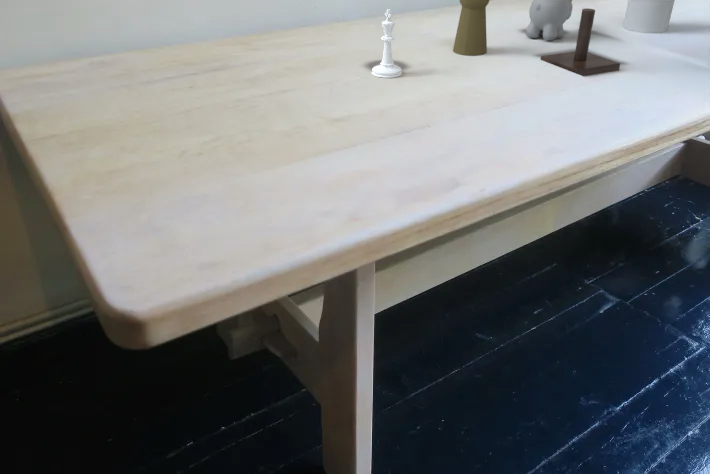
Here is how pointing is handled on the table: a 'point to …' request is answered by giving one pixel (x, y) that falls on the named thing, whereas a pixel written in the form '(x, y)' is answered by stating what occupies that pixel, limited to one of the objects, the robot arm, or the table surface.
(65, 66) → the table surface
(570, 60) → the wooden peg stand
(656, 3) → the cup
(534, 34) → the round bodied animal figurine
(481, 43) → the olive tapered cylinder
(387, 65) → the chess piece
